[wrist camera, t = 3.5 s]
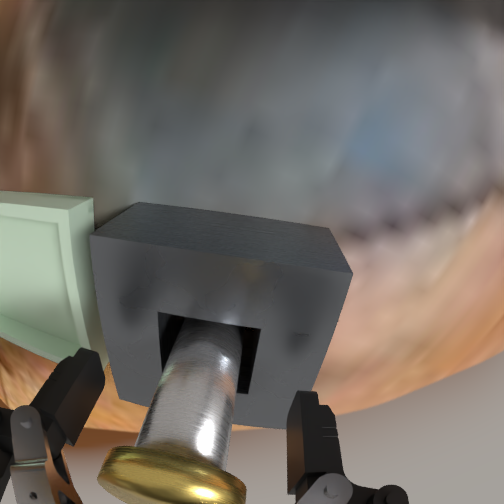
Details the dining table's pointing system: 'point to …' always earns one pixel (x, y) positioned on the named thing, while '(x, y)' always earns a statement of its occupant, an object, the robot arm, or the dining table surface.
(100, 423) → the dining table surface
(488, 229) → the dining table surface
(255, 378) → the socket block
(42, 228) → the tray
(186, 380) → the pin
